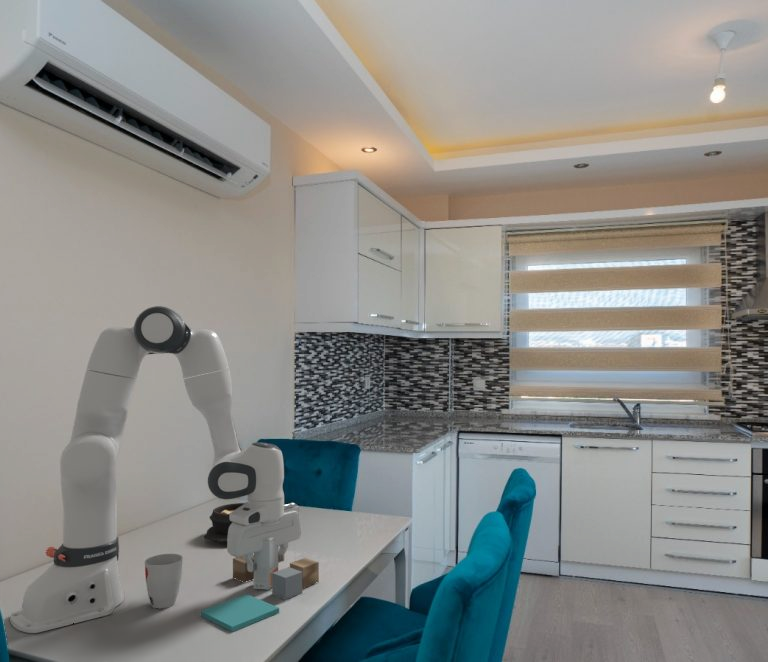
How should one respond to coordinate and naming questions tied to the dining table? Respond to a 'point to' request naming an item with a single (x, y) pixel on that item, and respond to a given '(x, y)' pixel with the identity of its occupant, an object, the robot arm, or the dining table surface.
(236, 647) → the dining table surface
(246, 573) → the walnut block
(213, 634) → the dining table surface
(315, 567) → the light brown wooden cube
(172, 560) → the cup
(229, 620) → the teal mat
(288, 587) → the slate grey block
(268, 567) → the skincare box
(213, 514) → the casserole
